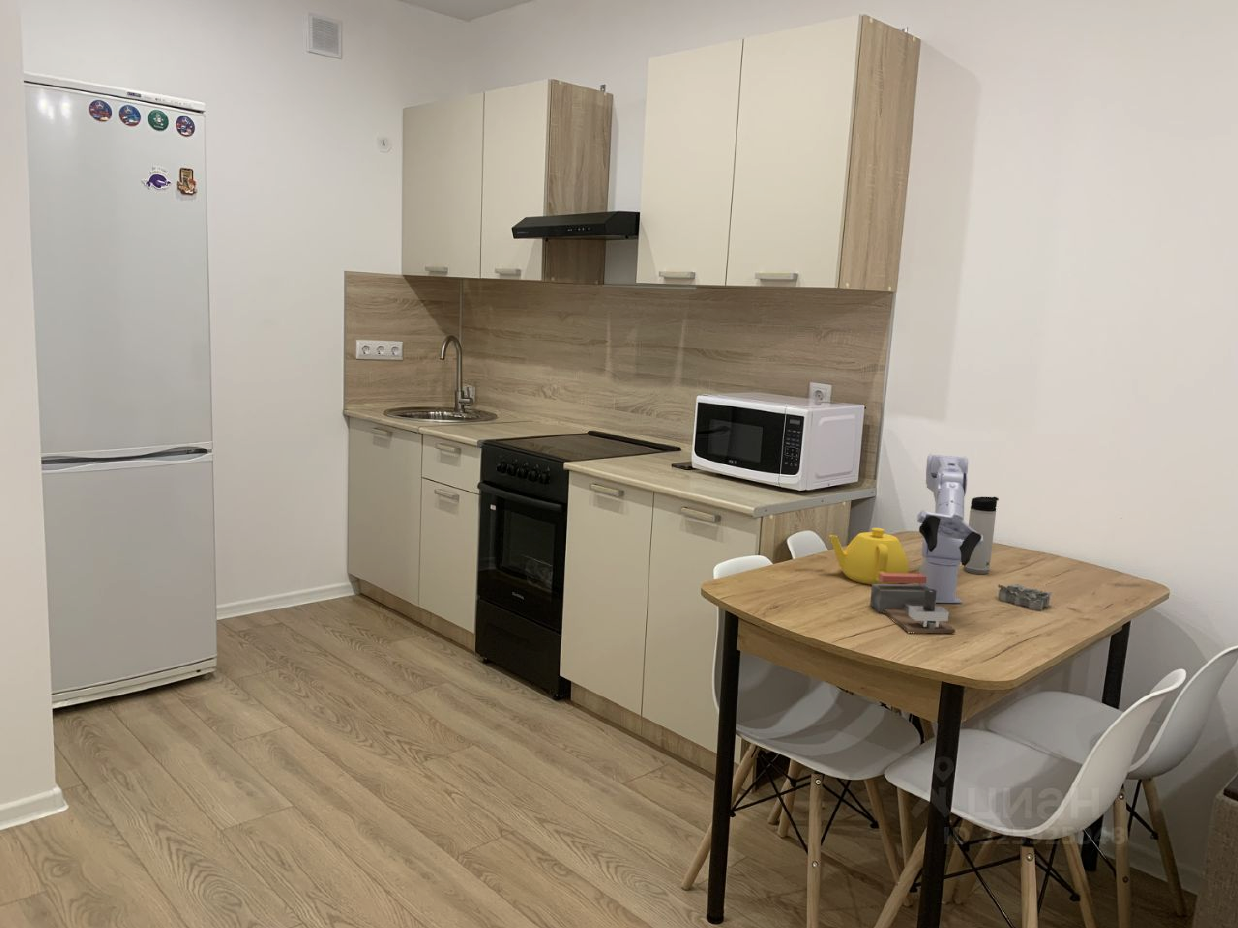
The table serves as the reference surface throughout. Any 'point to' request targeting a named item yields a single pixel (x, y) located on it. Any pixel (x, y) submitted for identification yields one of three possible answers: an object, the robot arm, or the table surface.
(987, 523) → the travel mug
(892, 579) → the bar
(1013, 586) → the egg carton
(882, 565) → the teapot
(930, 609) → the carriage
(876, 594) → the rail stand
